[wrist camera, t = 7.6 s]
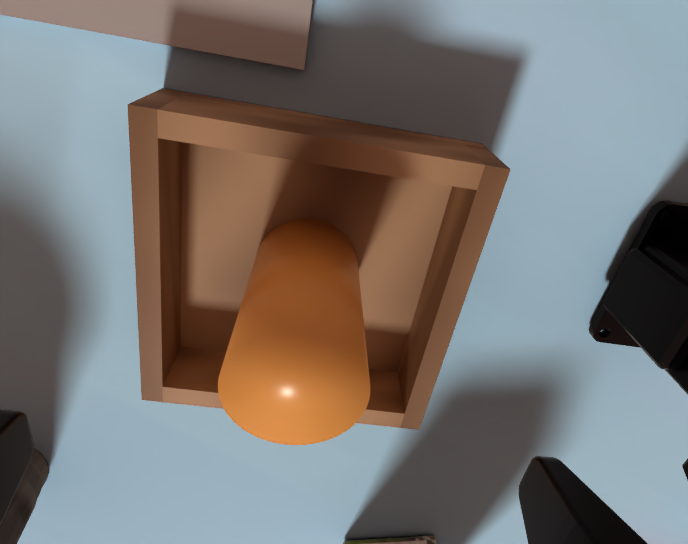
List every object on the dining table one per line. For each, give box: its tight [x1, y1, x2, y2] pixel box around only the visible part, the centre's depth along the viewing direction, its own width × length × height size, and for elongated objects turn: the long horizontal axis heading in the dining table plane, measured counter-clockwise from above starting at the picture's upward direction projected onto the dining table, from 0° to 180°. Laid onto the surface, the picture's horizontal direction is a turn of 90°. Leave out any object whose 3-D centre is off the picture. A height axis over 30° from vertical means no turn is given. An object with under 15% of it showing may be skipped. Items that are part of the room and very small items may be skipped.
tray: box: [128, 88, 510, 430], centre depth 18 cm, size 11×11×3 cm
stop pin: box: [218, 219, 370, 445], centre depth 15 cm, size 4×4×7 cm
